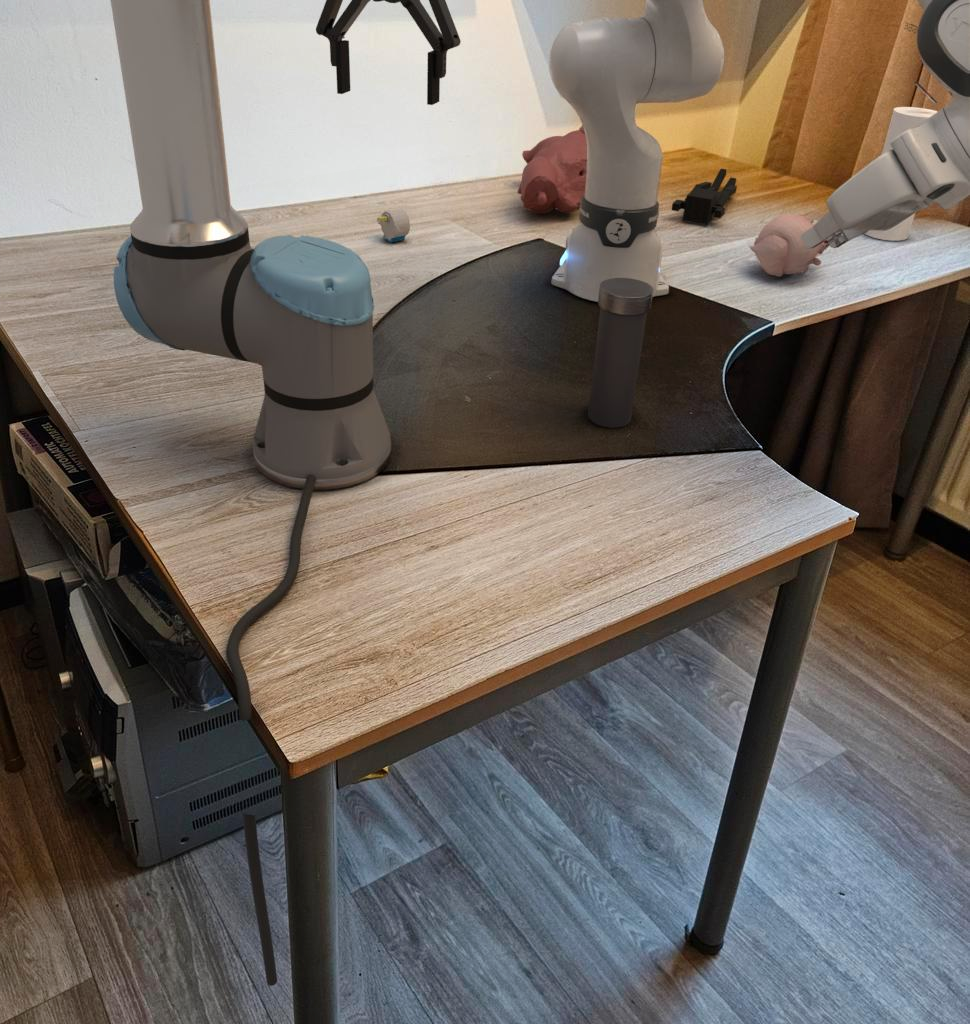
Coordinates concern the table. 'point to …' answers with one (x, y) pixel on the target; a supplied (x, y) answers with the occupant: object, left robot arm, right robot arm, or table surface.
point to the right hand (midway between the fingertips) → (817, 243)
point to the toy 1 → (706, 200)
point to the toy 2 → (786, 246)
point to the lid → (625, 296)
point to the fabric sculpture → (555, 173)
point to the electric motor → (394, 225)
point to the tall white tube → (899, 123)
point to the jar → (616, 368)
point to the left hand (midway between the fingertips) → (388, 97)
